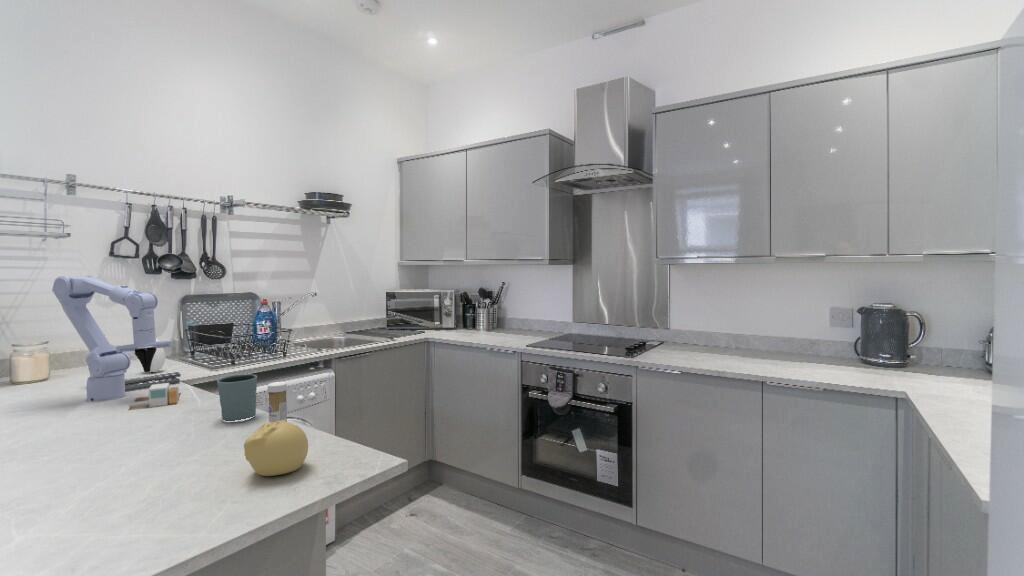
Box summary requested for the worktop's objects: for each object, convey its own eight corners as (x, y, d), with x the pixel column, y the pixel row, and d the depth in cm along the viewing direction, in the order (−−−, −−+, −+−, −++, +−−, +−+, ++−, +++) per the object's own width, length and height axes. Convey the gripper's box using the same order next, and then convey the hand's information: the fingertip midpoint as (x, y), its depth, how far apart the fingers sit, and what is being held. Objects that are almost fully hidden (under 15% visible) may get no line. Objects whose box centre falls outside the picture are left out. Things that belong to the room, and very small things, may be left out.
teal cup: (265, 415, 142) (264, 375, 141) (233, 425, 133) (232, 383, 132) (243, 411, 146) (242, 372, 145) (210, 421, 137) (209, 379, 136)
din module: (149, 407, 145) (148, 389, 145) (152, 401, 151) (151, 384, 151) (167, 405, 148) (166, 387, 147) (169, 399, 154) (169, 382, 153)
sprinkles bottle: (264, 434, 125) (263, 384, 125) (279, 429, 130) (277, 380, 129) (277, 437, 124) (276, 386, 123) (291, 431, 128) (290, 382, 127)
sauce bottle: (155, 374, 196) (154, 331, 196) (137, 374, 197) (135, 331, 196) (169, 370, 204) (168, 329, 203) (151, 370, 204) (150, 329, 204)
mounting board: (128, 415, 142) (127, 410, 142) (137, 402, 156) (136, 397, 156) (176, 409, 148) (176, 404, 148) (181, 397, 162) (181, 392, 162)
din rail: (128, 409, 143) (128, 396, 143) (132, 404, 148) (131, 391, 148) (176, 403, 149) (176, 390, 149) (178, 399, 154) (178, 386, 154)
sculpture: (265, 459, 109) (264, 413, 109) (317, 460, 109) (316, 413, 108) (235, 482, 98) (233, 430, 97) (292, 482, 97) (291, 431, 97)
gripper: (112, 333, 147) (116, 377, 147) (170, 328, 154) (173, 370, 155) (117, 331, 153) (120, 373, 154) (172, 327, 160) (175, 366, 161)
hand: (147, 371), depth 155 cm, fingers closed
